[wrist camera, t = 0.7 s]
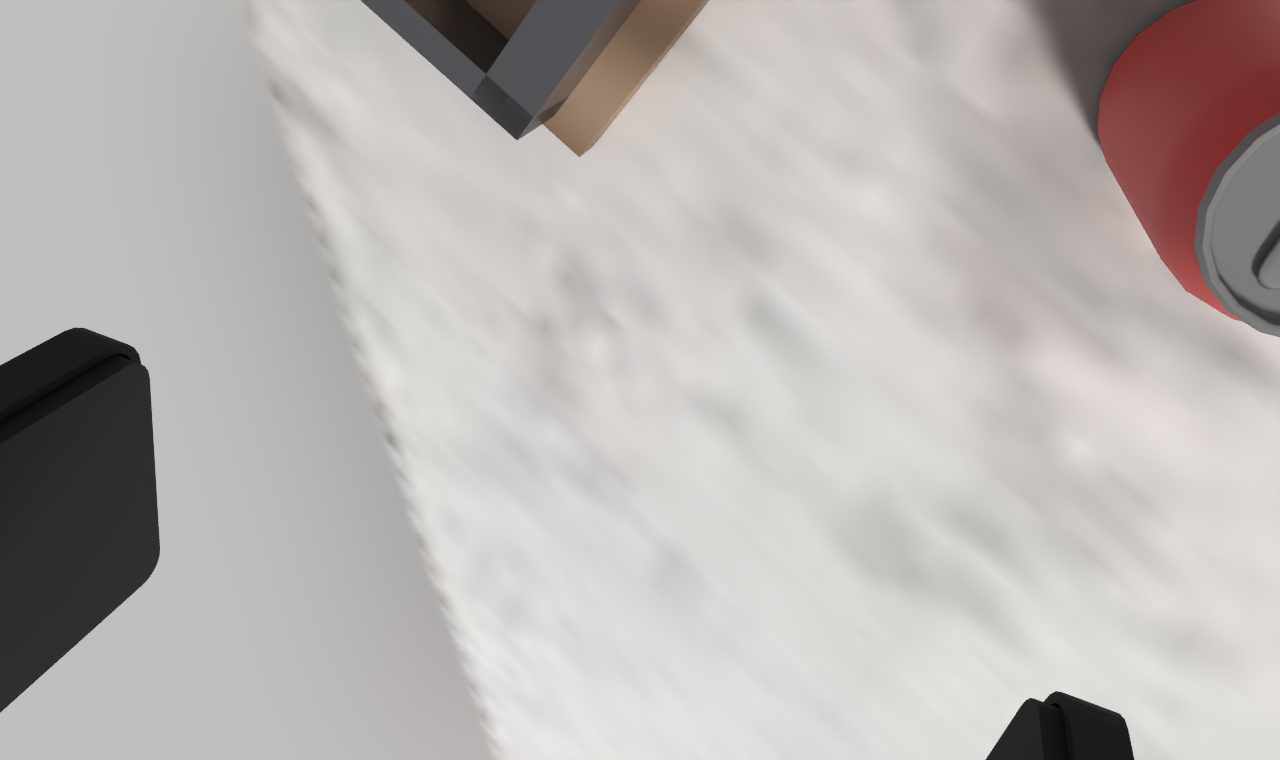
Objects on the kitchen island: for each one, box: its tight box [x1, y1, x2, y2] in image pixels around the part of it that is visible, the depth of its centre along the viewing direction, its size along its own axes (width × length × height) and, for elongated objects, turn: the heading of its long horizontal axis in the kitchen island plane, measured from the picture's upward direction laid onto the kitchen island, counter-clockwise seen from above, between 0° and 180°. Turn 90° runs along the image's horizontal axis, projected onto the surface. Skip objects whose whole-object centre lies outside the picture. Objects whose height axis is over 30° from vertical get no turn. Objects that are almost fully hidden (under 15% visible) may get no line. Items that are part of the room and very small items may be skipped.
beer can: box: [1097, 0, 1280, 337], centre depth 25 cm, size 7×7×12 cm
